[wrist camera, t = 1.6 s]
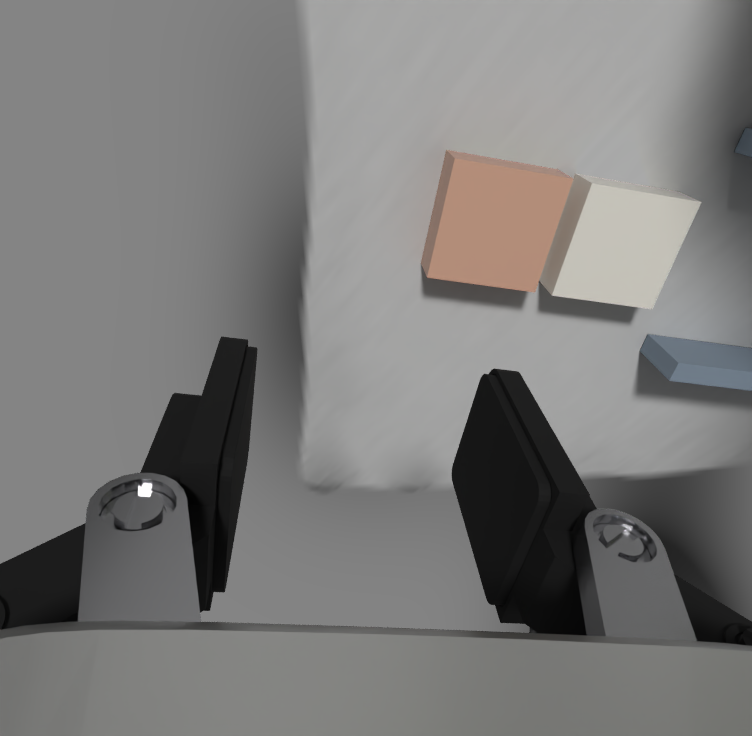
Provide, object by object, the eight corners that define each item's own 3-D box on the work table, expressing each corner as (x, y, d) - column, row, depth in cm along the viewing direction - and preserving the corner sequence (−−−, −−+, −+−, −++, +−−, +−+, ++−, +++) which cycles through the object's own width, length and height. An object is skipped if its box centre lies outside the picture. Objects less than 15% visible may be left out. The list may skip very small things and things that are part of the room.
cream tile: (572, 171, 30) (592, 183, 28) (675, 190, 31) (701, 202, 28) (536, 277, 33) (551, 295, 31) (631, 291, 34) (651, 309, 32)
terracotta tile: (444, 148, 29) (455, 158, 26) (555, 168, 30) (573, 178, 27) (419, 260, 32) (427, 277, 29) (520, 275, 32) (535, 292, 30)
